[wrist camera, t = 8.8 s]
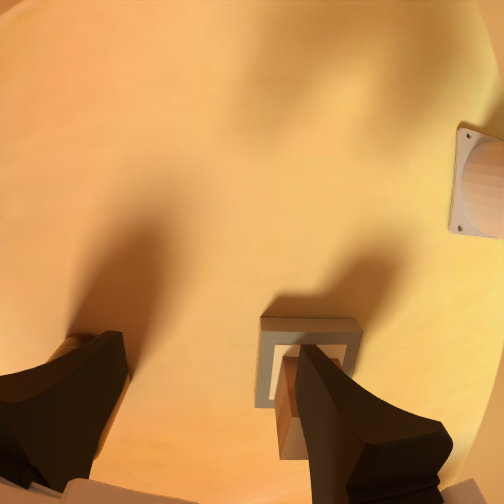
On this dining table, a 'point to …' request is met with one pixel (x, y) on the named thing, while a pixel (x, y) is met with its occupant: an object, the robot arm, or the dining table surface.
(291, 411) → the walnut block
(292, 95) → the dining table surface
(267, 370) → the base tile
